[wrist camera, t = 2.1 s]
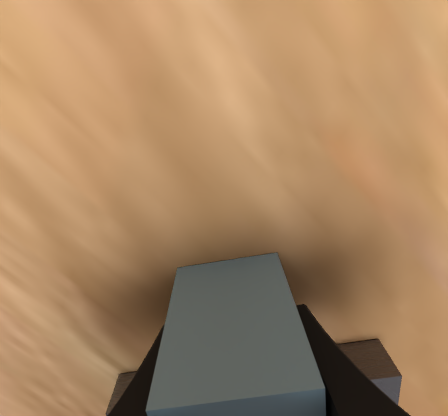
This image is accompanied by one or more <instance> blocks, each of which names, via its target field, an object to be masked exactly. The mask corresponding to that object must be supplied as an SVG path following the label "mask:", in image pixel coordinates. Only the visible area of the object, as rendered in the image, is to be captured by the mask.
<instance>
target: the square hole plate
mask: <svg viewBox="0 0 448 416" xmlns="http://www.w3.org/2000/svg"><path fill="white" fill-rule="evenodd" d="M337 346H338V347H339V348H340V349H341V350H342V351H343V352H344V353H345V355H346V356H347V357H348V358H349V359H350V360H351V361H352V362H353V363H354V364H355V365H356V366H357V367H358V368H359V369H360V370H361V371H362V372H363V373H364V374H365V375H366V376H367V377H368V378H369V379H370V380H371V381H372V382H373V383H374V384H375V385H376V386H377V387H378V388H379V389H380V390H382V391H383V392H384V393H385V394H386V395H387V396H388V397H389V398H390V399H392V400H393V401H394V402H395V403H396V404H397V405H398V401H399V393H400V386H401V379H402V375H401V374H400V372H399V370H398V369H397V367H396V366H395V364H394V363H393V361H392V359H391V358H390V356H389V355H388V353H387V351H386V350H385V348H384V347H383V345H382V344H381V342H380V340H379V339H376V340H369V341H361V342H354V343H347V344H339V345H337ZM135 374H136V372H132V373H124V374H119V376H118V379H117V382H116V385H115V388H114V391H113V394H112V397H111V400H110V402H109V405H108V408H107V411H106V415H108V414H109V413H110V411H111V410H112V409H113V407H114V406H115V404H116V403H117V401H118V400H119V399H120V397H121V395H122V394H123V392H124V391H125V389H126V388H127V386H128V385H129V383H130V382H131V380H132V379H133V377H134V376H135Z"/></svg>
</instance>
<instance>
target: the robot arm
mask: <svg viewBox="0 0 448 416" xmlns="http://www.w3.org/2000/svg"><path fill="white" fill-rule="evenodd" d="M296 307H297V310H298V313H299V316H300V318H301V321H302V324H303V327H304V330H305V333H306V335H307V338H308V341H309V344H310V347H311V350H312V352H313V355H314V358H315V361H316V364H317V367H318V369H319V372H320V375H321V378H322V381H323V384H324V386H325V399H326V416H410V415H409V414H408V413H407V412H405V411H404V410H403V409H402V408H401V407H400V406H398V405H397V404H396V403H395V402H394V401H393V400H392V399H390V398H389V397H388V396H387V395H386V394H385V393H384V392H383V391H382V390H380V389H379V388H378V387H377V386H376V385H375V384H374V383H373V382H372V381H371V380H370V379H369V378H368V377H367V376H366V375H365V374H364V373H363V372H362V371H361V370H360V369H359V368H358V367H357V366H356V365H355V364H354V363H353V362H352V361H351V360H350V359H349V358H348V357H347V356H346V355H345V353H344V352H343V351H342V350H341V349H340V348H339V347H338V346H337V344H336V343H335V342H334V341H333V340H332V339H331V338H330V336H329V335H328V334H327V333H326V331H325V330H324V329H323V328H322V326H321V325H320V324H319V323H318V321H317V320H316V319H315V317H314V316H313V315H312V313H311V312H310V310H309V309H308V307H307V306H306V305H304V304H302V305H296ZM164 326H165V324H164V325H163V327H162V328H161V330H160V332H159V334H158V336H157V338H156V340H155V341H154V343H153V345H152V347H151V349H150V350H149V352H148V354H147V356H146V357H145V359H144V361H143V362H142V364H141V366H140V367H139V369H138V371H137V372H136V374H135V376H134V377H133V379H132V380H131V382H130V383H129V385H128V386H127V388H126V389H125V391H124V392H123V394H122V395H121V397H120V399H119V400H118V401H117V403H116V404H115V406H114V407H113V409H112V410H111V411H110V413H109V414H108V415H107V416H147V413H146V406H147V402H148V397H149V393H150V388H151V384H152V379H153V375H154V370H155V366H156V362H157V357H158V353H159V348H160V344H161V339H162V335H163V330H164Z"/></svg>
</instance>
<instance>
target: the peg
mask: <svg viewBox="0 0 448 416" xmlns="http://www.w3.org/2000/svg"><path fill="white" fill-rule="evenodd" d="M146 413H147V416H326V399H325V386H324V384H323V381H322V378H321V375H320V372H319V369H318V367H317V364H316V361H315V358H314V355H313V352H312V350H311V347H310V344H309V341H308V338H307V335H306V333H305V330H304V327H303V324H302V321H301V318H300V316H299V313H298V310H297V307H296V304H295V301H294V299H293V296H292V293H291V290H290V287H289V284H288V282H287V279H286V276H285V273H284V270H283V267H282V265H281V262H280V259H279V256H278V253H270V254H264V255H257V256H251V257H244V258H238V259H231V260H225V261H218V262H212V263H205V264H199V265H192V266H185V267H179V268H177V272H176V276H175V281H174V285H173V290H172V294H171V299H170V303H169V308H168V312H167V317H166V321H165V326H164V330H163V335H162V339H161V344H160V348H159V353H158V357H157V362H156V366H155V370H154V375H153V379H152V384H151V388H150V393H149V397H148V402H147V406H146Z"/></svg>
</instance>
